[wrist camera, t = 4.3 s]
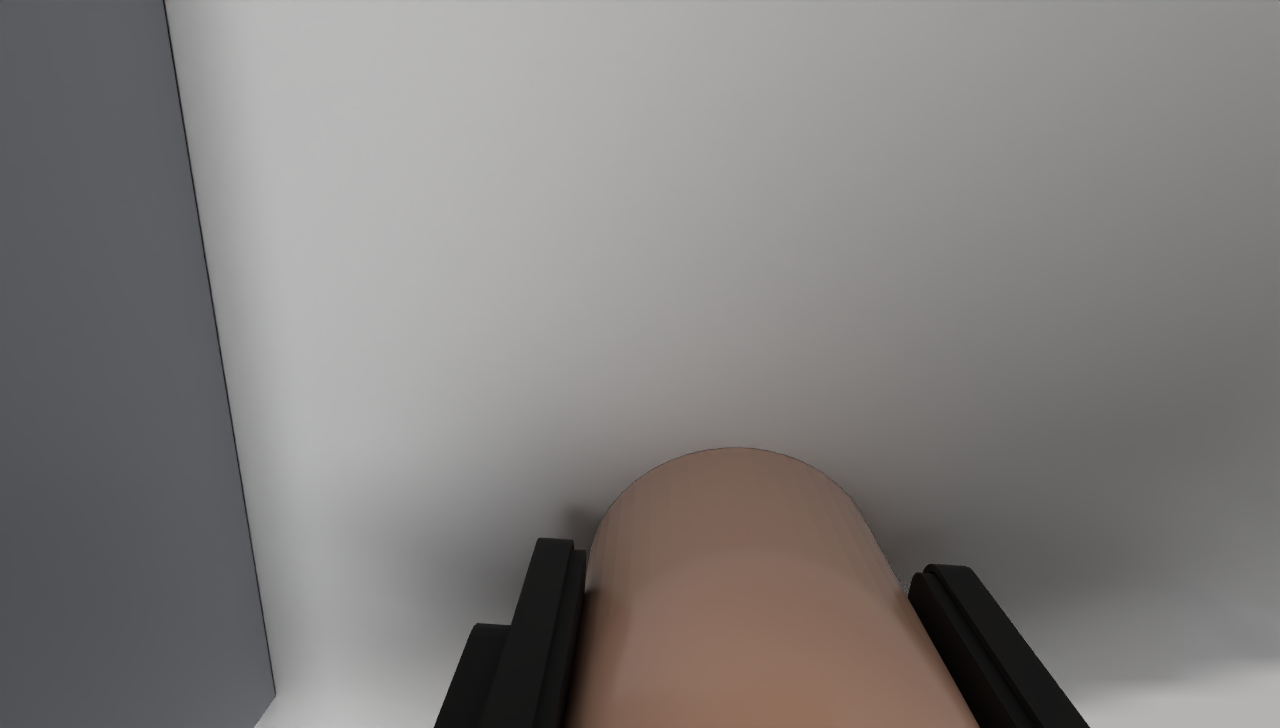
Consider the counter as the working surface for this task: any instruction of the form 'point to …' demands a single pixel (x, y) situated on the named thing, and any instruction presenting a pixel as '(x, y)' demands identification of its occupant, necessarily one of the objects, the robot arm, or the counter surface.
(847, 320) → the counter surface
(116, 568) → the bin
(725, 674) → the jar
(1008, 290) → the counter surface
